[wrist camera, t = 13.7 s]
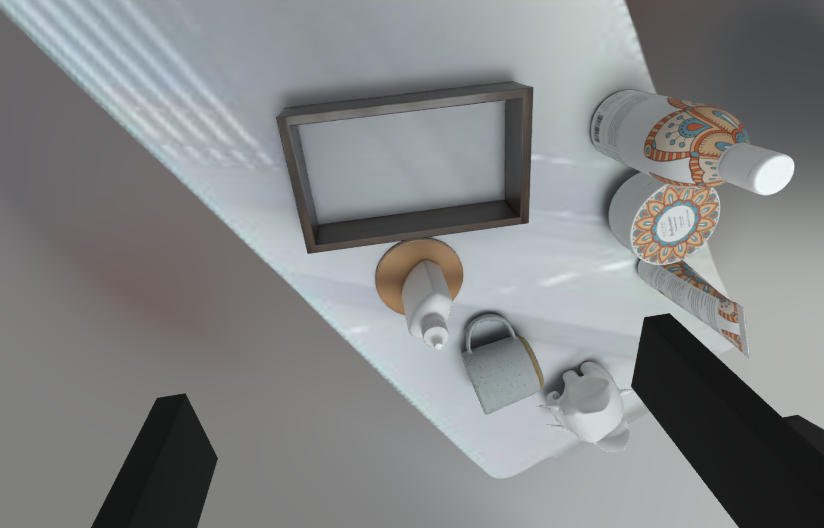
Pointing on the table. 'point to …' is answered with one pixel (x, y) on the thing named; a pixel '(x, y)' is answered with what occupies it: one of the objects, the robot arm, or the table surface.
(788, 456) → the robot arm
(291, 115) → the dark wooden open box
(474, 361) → the ceramic mug
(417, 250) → the coaster
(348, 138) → the table surface
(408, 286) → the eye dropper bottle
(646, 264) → the cosmetic set
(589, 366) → the elephant figurine
